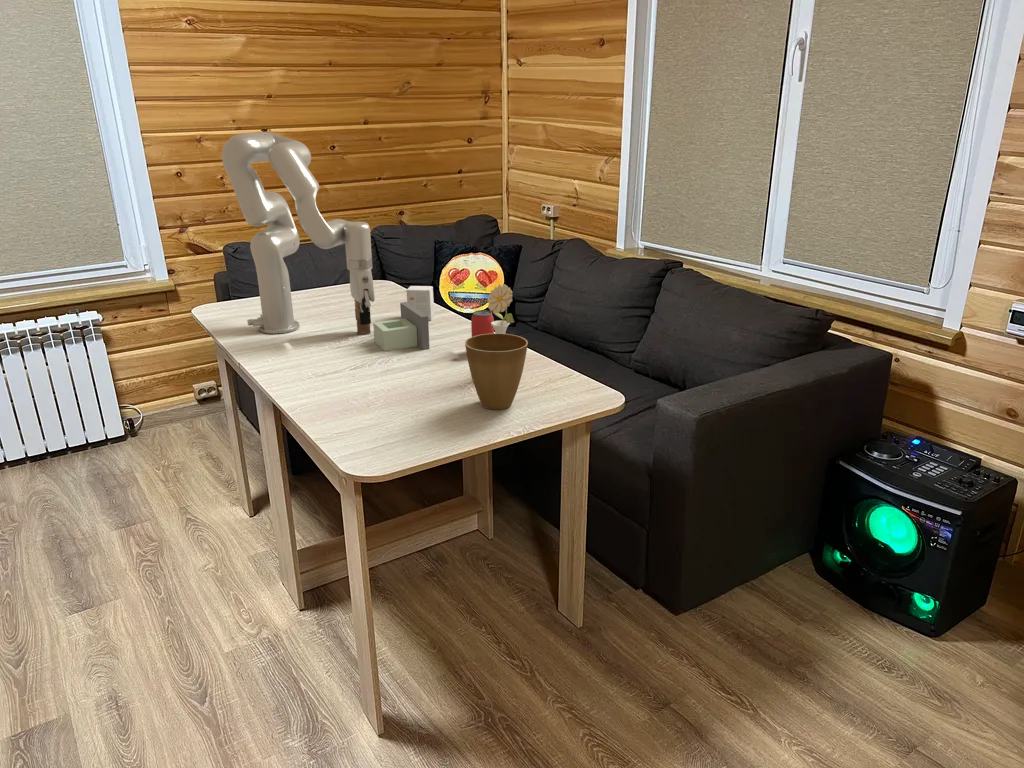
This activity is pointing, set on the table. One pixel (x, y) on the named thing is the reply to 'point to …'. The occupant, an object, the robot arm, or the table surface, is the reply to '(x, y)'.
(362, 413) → the table surface
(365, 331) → the walnut dowel
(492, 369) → the plant pot
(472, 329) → the beer can
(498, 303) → the flower in vase
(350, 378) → the table surface
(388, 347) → the sage block
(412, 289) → the small box
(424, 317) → the board
